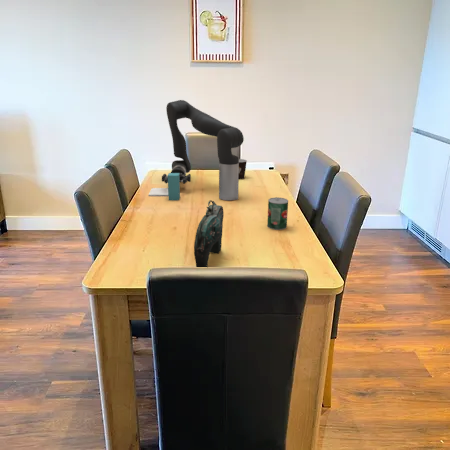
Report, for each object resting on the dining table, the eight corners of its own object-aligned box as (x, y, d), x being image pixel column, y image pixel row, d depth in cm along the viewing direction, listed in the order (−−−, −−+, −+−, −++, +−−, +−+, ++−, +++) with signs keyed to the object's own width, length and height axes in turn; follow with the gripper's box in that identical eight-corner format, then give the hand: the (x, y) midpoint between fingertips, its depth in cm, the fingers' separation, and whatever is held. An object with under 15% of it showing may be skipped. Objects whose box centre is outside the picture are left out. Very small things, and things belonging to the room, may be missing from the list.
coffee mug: (249, 177, 254) (249, 160, 250) (241, 180, 247) (241, 162, 243) (231, 174, 260) (231, 157, 256) (223, 177, 253) (223, 160, 249)
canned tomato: (289, 229, 176) (291, 202, 172) (269, 230, 175) (271, 203, 171) (283, 222, 184) (285, 197, 180) (265, 223, 182) (266, 197, 179)
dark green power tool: (210, 247, 159) (210, 193, 152) (227, 249, 157) (228, 194, 150) (190, 270, 141) (189, 210, 134) (210, 273, 139) (209, 212, 132)
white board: (175, 189, 229) (175, 188, 228) (173, 196, 217) (173, 194, 217) (152, 189, 229) (152, 187, 228) (148, 196, 217) (148, 194, 217)
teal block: (180, 197, 216) (179, 173, 212) (179, 200, 211) (178, 175, 207) (169, 197, 216) (168, 173, 212) (168, 200, 211) (167, 175, 207)
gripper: (164, 166, 230) (160, 173, 215) (191, 166, 230) (189, 174, 215) (164, 180, 233) (160, 188, 218) (192, 180, 233) (189, 189, 218)
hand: (175, 181), depth 216 cm, fingers open, 8 cm apart
